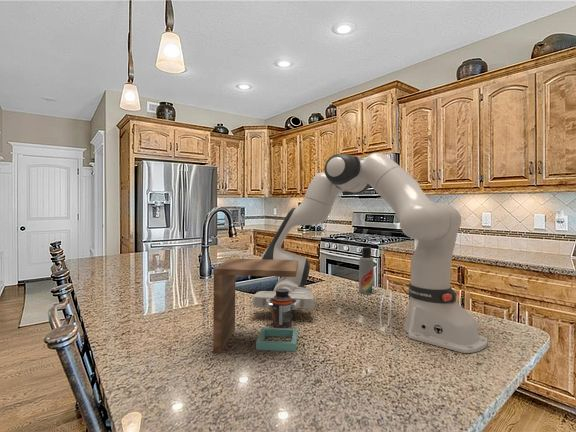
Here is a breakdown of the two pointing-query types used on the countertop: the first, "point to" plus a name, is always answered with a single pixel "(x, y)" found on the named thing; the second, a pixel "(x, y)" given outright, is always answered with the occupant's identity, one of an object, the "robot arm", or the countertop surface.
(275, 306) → the supplement bottle
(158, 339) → the countertop surface
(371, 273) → the lotion bottle
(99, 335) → the countertop surface
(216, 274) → the wooden l-shaped bracket
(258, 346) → the socket
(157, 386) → the countertop surface
